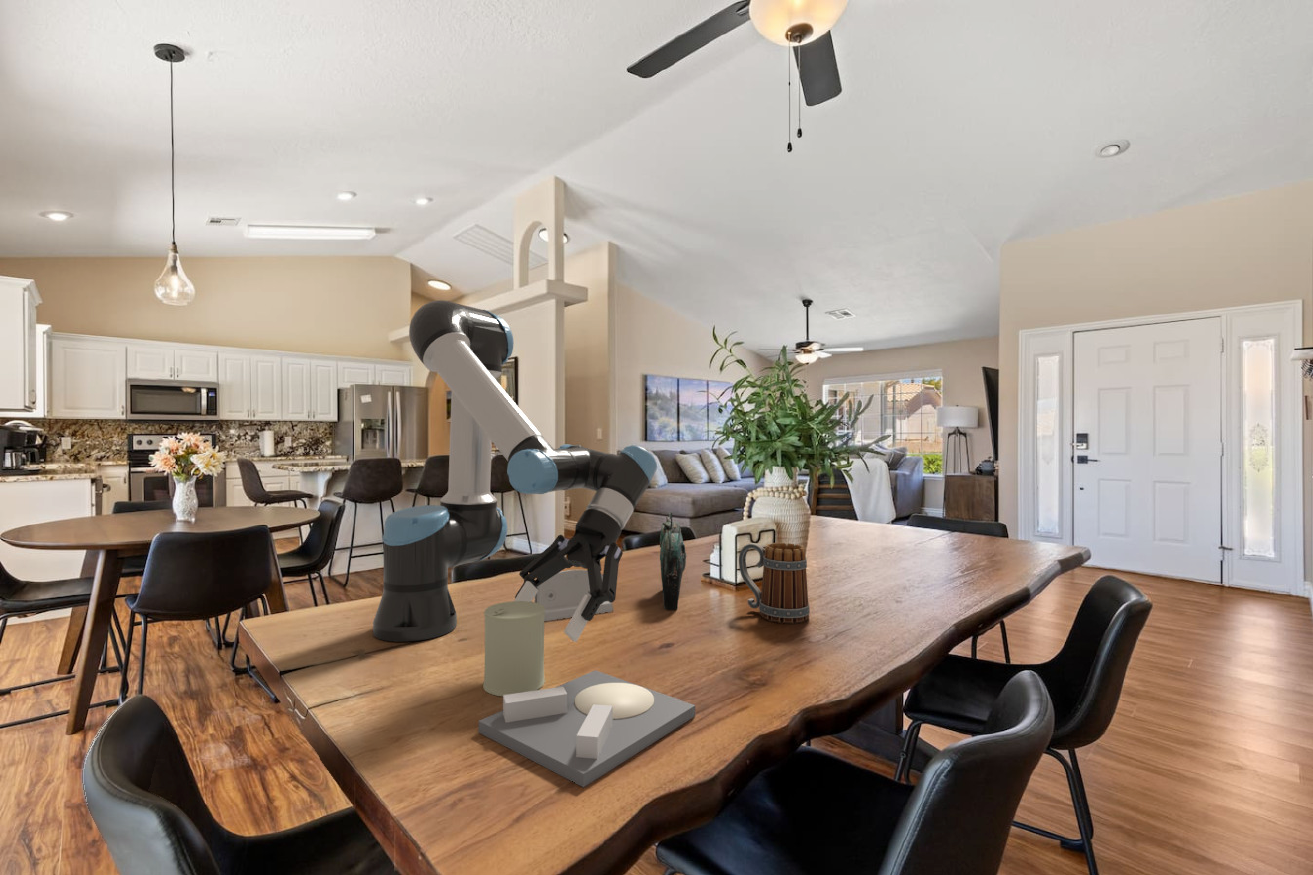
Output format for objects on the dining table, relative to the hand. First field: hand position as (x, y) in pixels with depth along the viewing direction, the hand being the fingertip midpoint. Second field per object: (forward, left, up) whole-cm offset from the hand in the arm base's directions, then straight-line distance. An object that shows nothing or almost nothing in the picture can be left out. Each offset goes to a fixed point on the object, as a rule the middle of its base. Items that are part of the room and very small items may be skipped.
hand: (539, 628), depth 94 cm
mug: (+12, +55, -8) cm, 57 cm away
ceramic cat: (-12, +51, -8) cm, 53 cm away
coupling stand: (+16, -5, -8) cm, 19 cm away
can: (-2, -3, -8) cm, 9 cm away
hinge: (-22, +28, -8) cm, 37 cm away
